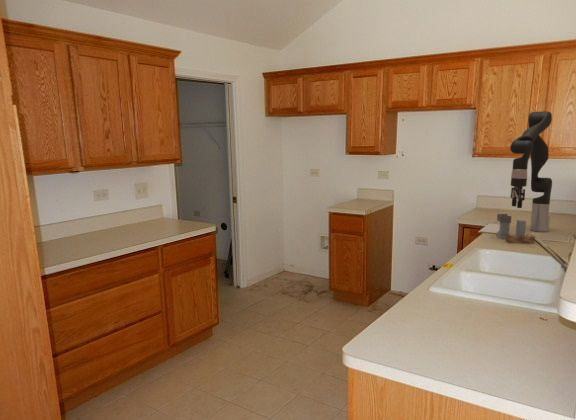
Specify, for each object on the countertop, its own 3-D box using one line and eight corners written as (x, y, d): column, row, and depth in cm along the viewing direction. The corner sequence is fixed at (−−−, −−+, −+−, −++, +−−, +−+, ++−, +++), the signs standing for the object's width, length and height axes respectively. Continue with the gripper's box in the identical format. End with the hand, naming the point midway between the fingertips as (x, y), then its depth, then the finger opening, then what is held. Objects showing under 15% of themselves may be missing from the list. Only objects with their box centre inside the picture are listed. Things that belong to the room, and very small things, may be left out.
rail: (531, 242, 227) (531, 235, 227) (534, 244, 223) (534, 237, 223) (506, 242, 229) (506, 235, 229) (508, 243, 225) (509, 236, 225)
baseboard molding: (475, 233, 255) (496, 235, 248) (475, 228, 255) (496, 230, 248) (485, 225, 280) (505, 227, 273) (485, 221, 280) (505, 223, 273)
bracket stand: (523, 236, 241) (525, 214, 239) (529, 239, 234) (530, 216, 232) (496, 235, 244) (497, 213, 242) (500, 238, 236) (501, 215, 235)
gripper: (531, 178, 216) (528, 208, 218) (521, 177, 230) (519, 206, 232) (516, 178, 218) (513, 208, 220) (507, 176, 231) (505, 205, 234)
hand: (516, 207), depth 226 cm, fingers open, 8 cm apart
